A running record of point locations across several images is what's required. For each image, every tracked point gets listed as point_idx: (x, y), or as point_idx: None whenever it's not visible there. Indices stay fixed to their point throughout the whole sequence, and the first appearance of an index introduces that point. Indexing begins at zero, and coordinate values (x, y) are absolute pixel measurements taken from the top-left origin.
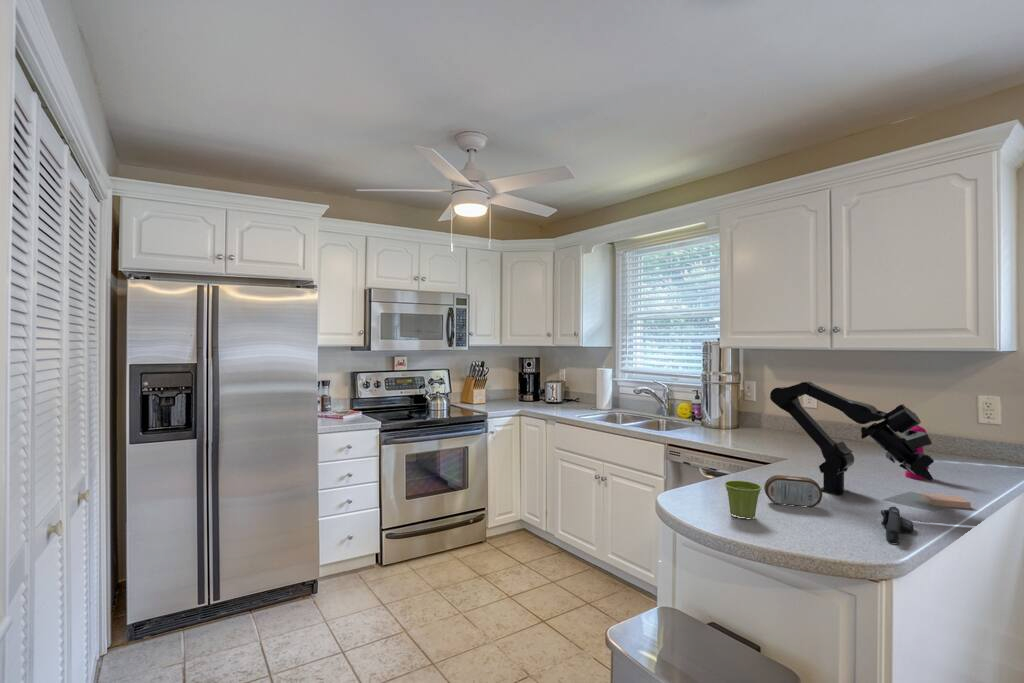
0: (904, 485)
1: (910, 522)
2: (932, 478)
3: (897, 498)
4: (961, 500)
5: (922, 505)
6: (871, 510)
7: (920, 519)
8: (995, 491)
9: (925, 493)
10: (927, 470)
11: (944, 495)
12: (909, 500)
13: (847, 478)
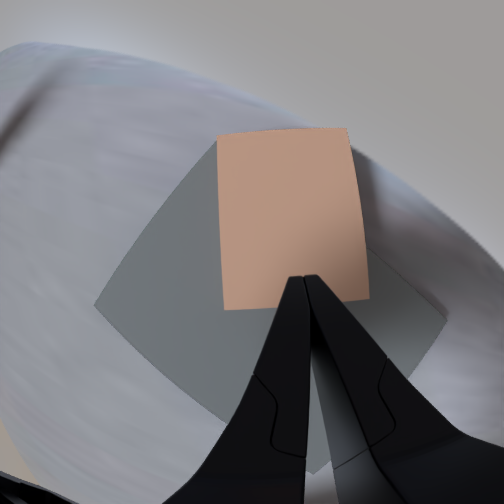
0: (10, 272)
1: None
2: (321, 281)
3: None
4: (322, 151)
5: None
6: None
7: (499, 374)
8: (56, 54)
9: (223, 292)
10: (383, 355)
11: (235, 198)
12: None
13: (13, 420)
